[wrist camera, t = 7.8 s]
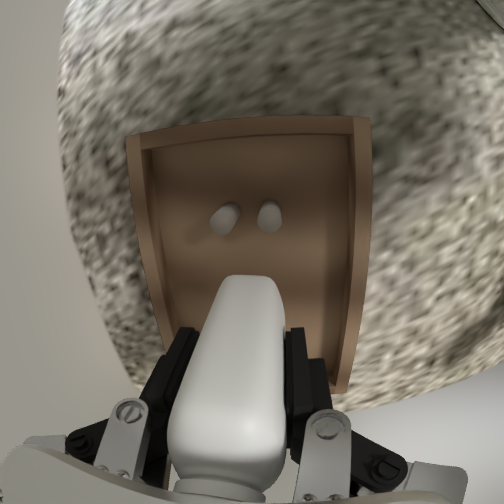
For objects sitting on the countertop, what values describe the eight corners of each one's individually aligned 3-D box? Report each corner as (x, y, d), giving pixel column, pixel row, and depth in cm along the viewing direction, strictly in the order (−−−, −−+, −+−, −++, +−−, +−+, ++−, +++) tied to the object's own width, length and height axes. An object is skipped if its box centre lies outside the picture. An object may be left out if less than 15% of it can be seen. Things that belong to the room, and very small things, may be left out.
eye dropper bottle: (188, 339, 14) (101, 551, 3) (237, 255, 12) (119, 586, 1) (259, 372, 14) (233, 583, 3) (319, 300, 12) (365, 588, 1)
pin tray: (146, 138, 17) (111, 136, 12) (354, 123, 15) (379, 114, 11) (187, 369, 23) (174, 404, 19) (340, 368, 22) (348, 406, 18)
